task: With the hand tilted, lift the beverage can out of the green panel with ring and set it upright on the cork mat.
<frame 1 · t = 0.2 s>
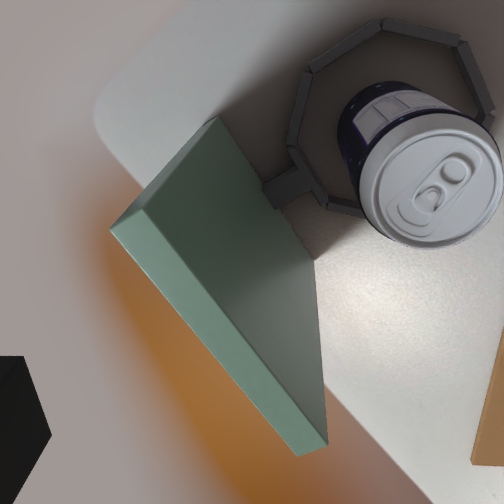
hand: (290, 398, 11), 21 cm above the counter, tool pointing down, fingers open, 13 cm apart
beverage can: (382, 127, 28), resting in green panel with ring
green panel with ring: (383, 125, 28), on the counter
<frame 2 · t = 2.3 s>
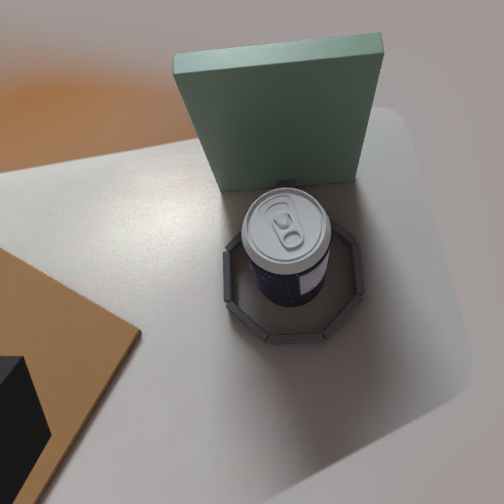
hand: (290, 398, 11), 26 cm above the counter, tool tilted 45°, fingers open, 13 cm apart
beverage can: (290, 276, 39), resting in green panel with ring
green panel with ring: (291, 276, 38), on the counter
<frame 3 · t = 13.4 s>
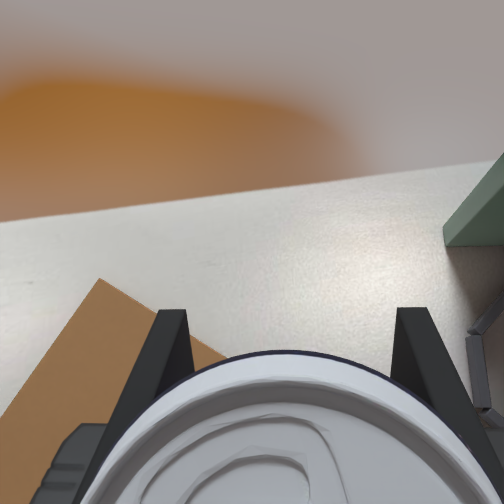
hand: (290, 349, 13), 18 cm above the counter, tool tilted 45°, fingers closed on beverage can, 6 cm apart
beverage can: (293, 468, 16), point 13 cm above the counter, touching gripper
cork mat: (140, 478, 29), on the counter
when the fingers open (5 cm above the counter, at t = 18.4 s): beverage can stays where it is, resting on cork mat.
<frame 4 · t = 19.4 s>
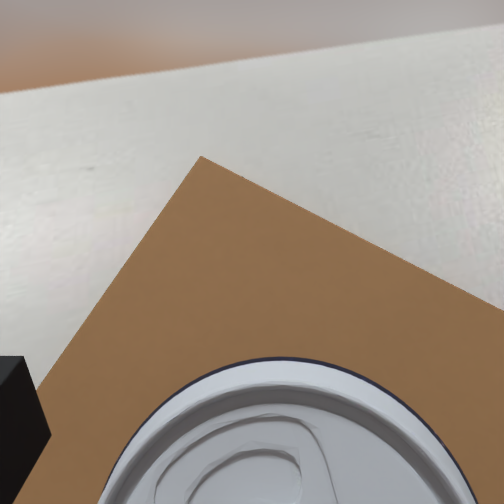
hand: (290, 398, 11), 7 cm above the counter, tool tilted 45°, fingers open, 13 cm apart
beverage can: (291, 464, 17), resting on cork mat
cork mat: (292, 464, 17), on the counter
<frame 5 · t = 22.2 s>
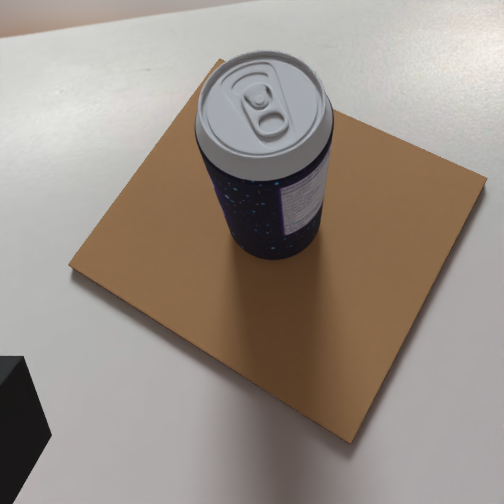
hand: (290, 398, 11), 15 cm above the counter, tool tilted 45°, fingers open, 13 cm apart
beverage can: (274, 222, 29), resting on cork mat
cork mat: (275, 225, 29), on the counter
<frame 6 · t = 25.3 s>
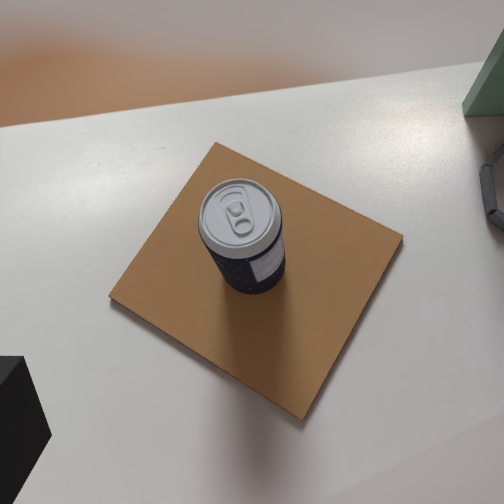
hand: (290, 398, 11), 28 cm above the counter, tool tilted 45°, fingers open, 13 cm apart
beverage can: (254, 266, 41), resting on cork mat
cork mat: (254, 267, 41), on the counter
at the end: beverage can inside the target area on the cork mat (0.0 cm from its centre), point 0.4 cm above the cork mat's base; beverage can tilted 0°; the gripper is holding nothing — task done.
